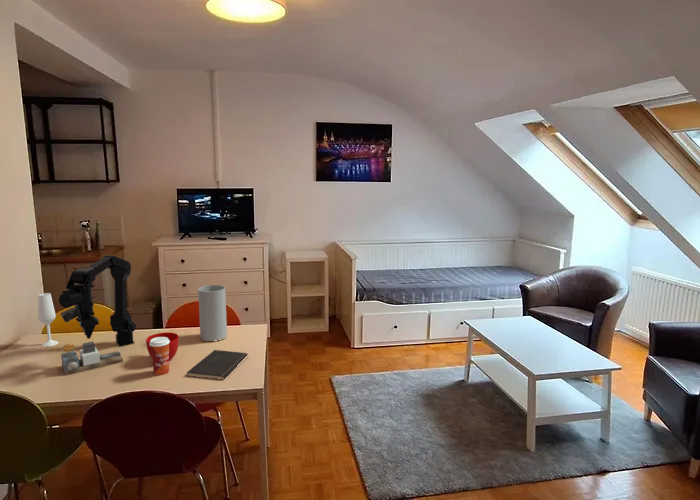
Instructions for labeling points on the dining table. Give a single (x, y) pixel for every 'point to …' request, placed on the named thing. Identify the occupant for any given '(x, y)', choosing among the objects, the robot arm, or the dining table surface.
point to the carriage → (89, 354)
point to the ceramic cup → (172, 345)
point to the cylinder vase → (212, 312)
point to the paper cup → (160, 355)
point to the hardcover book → (217, 364)
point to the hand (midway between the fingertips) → (87, 336)
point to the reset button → (68, 347)
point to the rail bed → (75, 365)
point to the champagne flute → (46, 314)
